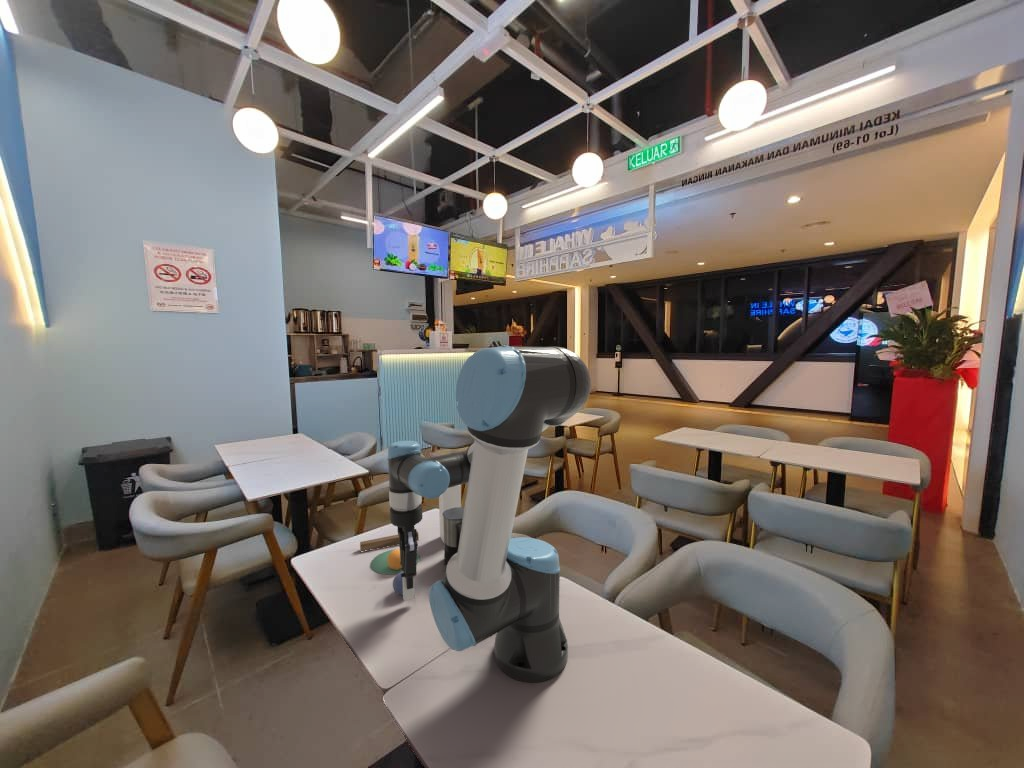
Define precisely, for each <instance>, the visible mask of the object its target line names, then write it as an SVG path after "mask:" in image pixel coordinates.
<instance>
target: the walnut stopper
mask: <svg viewBox="0 0 1024 768" xmlns="http://www.w3.org/2000/svg"><path fill="white" fill-rule="evenodd" d="M416 531H417V536H416V542H418V541H420V540H419V531H418V530H416ZM417 540H418V541H417ZM397 544H399V535H398V534H394V535H393V534H392V535H388V536H384V537H379V538H373V539H368V540H363V541H359V546H360V547H359V549H360V550H361V551H365V550H370V549H375V550H378V549H377V548H380V549H383V547H385V548H388V547H387V546H389V547H394V546H398V545H397ZM393 545H394V546H393ZM361 551H360V552H361ZM370 551H371V550H370ZM365 552H366V551H365Z"/></svg>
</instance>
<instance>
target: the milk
mask: <svg viewBox="0 0 1024 768" xmlns="http://www.w3.org/2000/svg"><path fill="white" fill-rule="evenodd" d="M461 485H462V484H461ZM461 485H457V486H454V487H450V488H447V490H446V491H445V492H444V493H443V494H442V495H440V496H439V497H438V509H439V512H438V513H439V514H438V515H439V538H440V539H441V541H442V543H443V544H444V519H443V515H442V513H443V512H444V511H445V510H447V509H450V508H456V507H462V491H461V490H462V486H461Z"/></svg>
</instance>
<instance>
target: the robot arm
mask: <svg viewBox="0 0 1024 768" xmlns="http://www.w3.org/2000/svg"><path fill="white" fill-rule="evenodd" d="M590 374H591V373H590V370H589V368H588V367H587V365H586V363H585V361H584V360H583V359H582V358H581V357H580V356H579V355H578V354H576V353H575V352H573V351H572V350H571V349H567V348H566V347H561V346H553V345H552V346H515V345H514V346H513V345H512V346H509V345H500V346H494V347H485V348H482V349H478V350H476V351H475V352H474V353H473V354H471V355H470V356H469V357H467V359H466V360H465V362H464V363H463V364H462V366H461V368H460V370H459V374H458V375H457V376H458V377H457V380H456V384H455V385H456V386H455V401H456V402H457V403H458V404H457V405H456V409H457V412H458V413H457V414H458V415H459V418H460V420H461V421H462V422H463V424H464V425H466V430H467V432H468V435H470V437H471V438H472V439H473V440H474V441H473V443H472V444H471V445H470V446H468V447H467V448H466V449H465V450H463V451H457V452H456V451H455V452H451V453H447V454H441V455H437V456H436V455H435V456H430V457H425V456H423V455H422V450H421V449H422V448H421V444H420V442H419V441H416V440H399V441H395V442H392V443H390V444H389V445H388V448H387V449H388V450H387V459H386V460H387V462H388V463H387V465H388V466H387V467H388V484H389V485H388V487H389V489H388V499H389V502H388V503H389V507H390V509H389V518H390V519H389V520H390V521H389V522H390V523H391V524H392V525H393V526H394V527H397V535H399V545H398V546H399V549H400V560H401V562H400V564H401V565H402V571H404V573H402V574H401V578H402V580H403V595H402V598H403V601H404V602H407V601H411V600H416V582H415V581H416V578H415V577H416V576H417V565H418V563H417V553H418V546H419V545H418V544H419V543H418V541H416V536H417V531H418V530H417V529H416V528H415V526H416V525H417V524H419V523H420V522H422V520H423V505H422V501H423V499H422V497H423V498H426V499H427V500H428V499H429V500H433V499H437V498H439V496H440V495H442V494H443V493H444V492H445V491H446V490H447V488H450V487H454V486H457V485H466V484H467V487H466V488H467V489H466V495H465V503H464V506H463V507H464V514H463V520H462V527H461V533H460V540H459V547H458V552H457V553H456V554H454V555H453V556H452V557H451V559H450V560H449V562H448V564H447V566H446V569H445V576H444V578H443V579H441V580H437V581H435V583H433V584H431V586H430V588H429V590H428V591H429V592H428V597H429V598H428V599H429V601H428V602H429V605H430V610H431V614H432V617H433V620H434V623H435V625H436V628H437V630H438V632H439V634H440V636H441V638H442V639H443V641H444V643H445V644H446V645H447V646H448V647H449V648H450V649H451V650H453V651H455V652H463V651H465V650H467V649H469V648H471V647H476V646H477V645H478V644H480V643H481V642H483V641H485V640H486V639H488V638H490V637H492V636H493V635H495V634H496V635H495V638H494V639H495V640H494V658H495V662H496V664H497V666H498V667H499V669H500V670H501V671H502V672H503V673H505V675H507V676H508V677H510V678H512V679H515V680H518V681H520V682H525V683H540V682H544V681H548V680H550V679H552V678H554V677H556V676H558V675H560V673H561V672H562V671H563V669H564V668H565V667H566V665H567V662H568V657H569V651H568V650H569V648H568V647H569V646H568V639H567V636H566V634H565V630H564V627H563V625H562V622H561V618H560V581H561V580H560V572H561V567H560V561H559V559H560V558H559V552H558V551H557V549H556V547H554V546H553V545H551V544H550V543H549V542H547V541H544V540H542V539H538V538H533V537H531V538H527V537H518V538H512V539H510V538H511V533H513V529H514V523H515V517H516V513H517V507H518V504H519V503H518V502H519V498H520V492H521V488H522V483H523V482H522V481H523V477H524V472H525V467H526V463H527V459H528V452H529V449H532V448H534V447H536V446H537V445H538V444H539V443H540V441H541V437H542V432H544V431H545V430H547V429H548V428H549V427H558V426H561V425H563V424H564V423H565V422H567V421H568V420H570V418H572V417H573V416H574V415H576V414H578V412H580V411H581V409H583V407H584V406H585V404H586V403H587V401H588V400H589V397H590V395H591V390H592V379H591V375H590Z"/></svg>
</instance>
